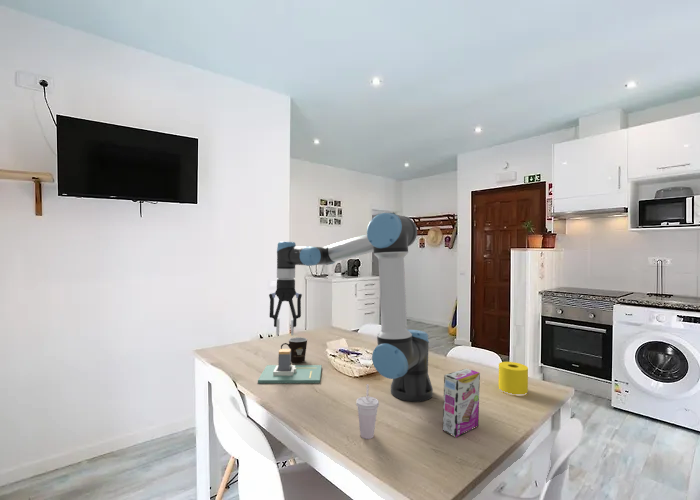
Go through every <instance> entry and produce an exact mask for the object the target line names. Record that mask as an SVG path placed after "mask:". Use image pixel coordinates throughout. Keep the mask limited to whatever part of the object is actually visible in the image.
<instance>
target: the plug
mask: <svg viewBox="0 0 700 500" xmlns="http://www.w3.org/2000/svg"><path fill="white" fill-rule="evenodd" d="M277 363H278V364H277V365H278V371H291V365H292V362H291V349H290V348H282V349H281V348H280V349H279V350H278V361H277Z"/></svg>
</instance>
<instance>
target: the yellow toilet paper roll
mask: <svg viewBox="0 0 700 500" xmlns="http://www.w3.org/2000/svg"><path fill="white" fill-rule="evenodd" d="M528 386H529V367H528V366H527V365H525V364H523V363H519V362H514V361H501V362H499V363H498V387H499V389H501V390H502V391H505V392H508V393H512V394H525V393H527V392H529V391H528V390H529V387H528ZM499 389H498V390H499Z"/></svg>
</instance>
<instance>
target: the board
mask: <svg viewBox="0 0 700 500" xmlns="http://www.w3.org/2000/svg"><path fill="white" fill-rule="evenodd" d="M321 377H322V364H302V365H301V364H294V365H293V364H291V371H278V364H266V366H265V368H264V369H263V371H262V373H261V374H260V376H259V377H258V379H257V384H320V383H321Z"/></svg>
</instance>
